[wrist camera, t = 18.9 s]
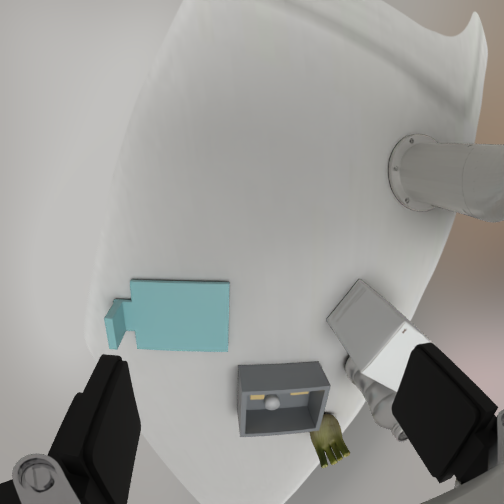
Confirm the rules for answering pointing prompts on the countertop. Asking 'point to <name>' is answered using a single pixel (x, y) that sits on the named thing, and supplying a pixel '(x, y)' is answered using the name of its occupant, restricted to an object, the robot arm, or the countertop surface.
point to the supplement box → (375, 334)
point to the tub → (281, 398)
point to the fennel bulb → (329, 441)
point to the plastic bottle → (376, 399)
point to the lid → (172, 316)
